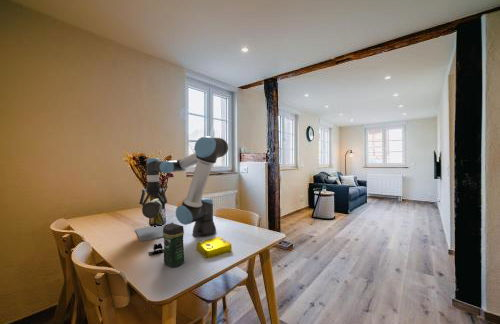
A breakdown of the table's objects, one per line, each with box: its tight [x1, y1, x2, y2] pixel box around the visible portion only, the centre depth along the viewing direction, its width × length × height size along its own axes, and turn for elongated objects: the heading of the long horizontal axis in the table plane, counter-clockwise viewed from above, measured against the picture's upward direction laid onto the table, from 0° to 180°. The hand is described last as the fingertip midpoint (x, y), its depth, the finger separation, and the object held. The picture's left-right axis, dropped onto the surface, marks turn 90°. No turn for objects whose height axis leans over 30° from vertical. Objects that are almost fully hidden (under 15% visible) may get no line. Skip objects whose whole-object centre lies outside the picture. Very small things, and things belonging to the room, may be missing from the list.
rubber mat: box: [134, 223, 167, 243], centre depth 148 cm, size 26×20×1 cm
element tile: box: [195, 236, 233, 259], centre depth 119 cm, size 15×15×5 cm
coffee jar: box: [163, 222, 185, 268], centre depth 105 cm, size 10×8×19 cm
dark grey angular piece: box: [147, 242, 164, 257], centre depth 117 cm, size 12×7×5 cm, turn 120°
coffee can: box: [141, 198, 162, 219], centre depth 149 cm, size 10×10×14 cm
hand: (153, 214), depth 148 cm, fingers closed on coffee can, 10 cm apart
